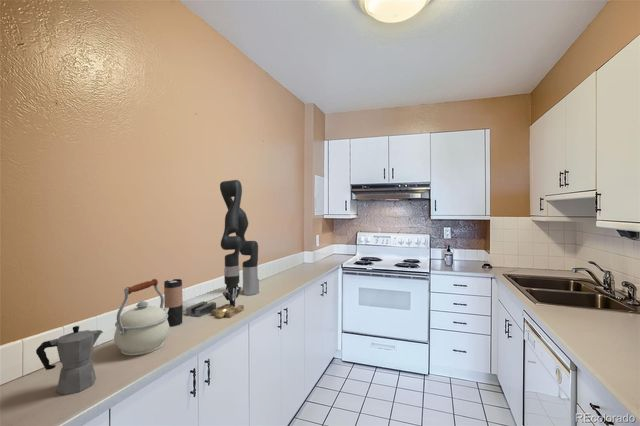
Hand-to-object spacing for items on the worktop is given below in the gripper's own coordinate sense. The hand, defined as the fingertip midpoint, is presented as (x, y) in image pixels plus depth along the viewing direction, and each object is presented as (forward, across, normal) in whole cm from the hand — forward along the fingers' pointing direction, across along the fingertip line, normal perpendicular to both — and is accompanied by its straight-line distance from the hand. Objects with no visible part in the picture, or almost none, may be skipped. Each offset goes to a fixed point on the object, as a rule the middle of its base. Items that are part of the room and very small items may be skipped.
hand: (232, 307), depth 158 cm
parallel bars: (+2, +4, 0) cm, 4 cm away
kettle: (+2, +45, -8) cm, 46 cm away
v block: (+2, +7, -14) cm, 16 cm away
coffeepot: (+2, +73, -4) cm, 74 cm away
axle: (+2, +7, 0) cm, 7 cm away
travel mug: (+2, +24, -15) cm, 28 cm away
